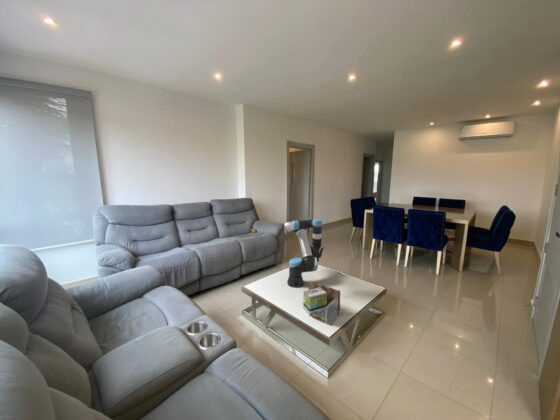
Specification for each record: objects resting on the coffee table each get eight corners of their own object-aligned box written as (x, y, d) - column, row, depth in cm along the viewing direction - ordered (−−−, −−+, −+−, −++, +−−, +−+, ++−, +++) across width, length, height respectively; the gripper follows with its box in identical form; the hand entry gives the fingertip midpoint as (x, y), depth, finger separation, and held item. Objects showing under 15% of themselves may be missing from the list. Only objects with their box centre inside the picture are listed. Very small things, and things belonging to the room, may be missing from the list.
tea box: (310, 316, 165) (310, 297, 162) (302, 308, 174) (302, 290, 171) (327, 310, 171) (327, 292, 169) (319, 303, 180) (319, 286, 178)
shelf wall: (296, 310, 172) (296, 290, 169) (309, 298, 187) (309, 280, 184) (327, 324, 156) (328, 303, 153) (339, 310, 171) (340, 290, 168)
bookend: (325, 323, 157) (325, 307, 155) (336, 310, 171) (337, 295, 169) (330, 325, 155) (330, 309, 153) (341, 312, 169) (342, 297, 167)
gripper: (307, 237, 191) (307, 264, 196) (321, 240, 183) (321, 268, 187) (312, 235, 197) (312, 261, 201) (326, 238, 189) (325, 265, 193)
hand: (316, 264), depth 194 cm, fingers closed
